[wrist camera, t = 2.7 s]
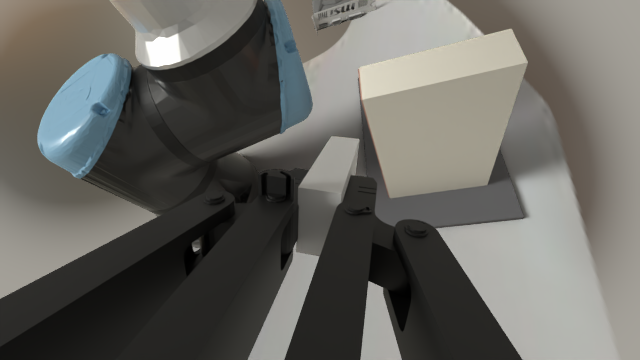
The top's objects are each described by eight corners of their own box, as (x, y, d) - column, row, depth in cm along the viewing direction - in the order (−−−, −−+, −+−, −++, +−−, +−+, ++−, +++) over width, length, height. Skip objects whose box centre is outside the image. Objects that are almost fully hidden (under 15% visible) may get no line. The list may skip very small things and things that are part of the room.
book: (487, 185, 35) (528, 62, 20) (389, 198, 38) (361, 100, 23) (479, 159, 37) (511, 28, 22) (385, 174, 40) (357, 67, 25)
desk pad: (522, 218, 33) (523, 216, 32) (373, 234, 37) (372, 233, 37) (465, 54, 46) (465, 51, 45) (358, 80, 50) (358, 78, 49)
